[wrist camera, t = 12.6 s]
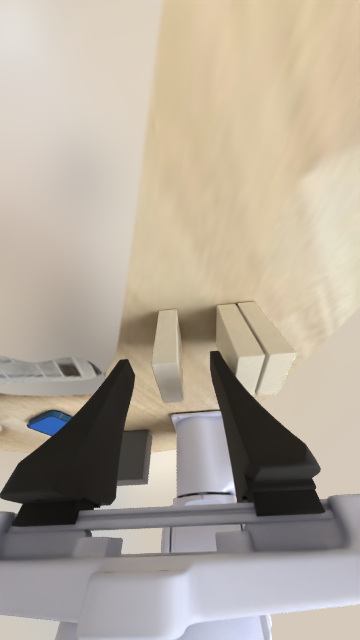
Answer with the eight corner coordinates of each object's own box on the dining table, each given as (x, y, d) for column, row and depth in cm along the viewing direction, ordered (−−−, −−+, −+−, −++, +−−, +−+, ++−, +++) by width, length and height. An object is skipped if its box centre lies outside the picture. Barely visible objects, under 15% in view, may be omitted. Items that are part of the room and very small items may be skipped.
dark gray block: (148, 429, 29) (142, 479, 24) (152, 437, 32) (147, 484, 26) (121, 431, 30) (109, 481, 24) (127, 438, 32) (117, 485, 27)
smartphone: (51, 413, 23) (124, 445, 31) (54, 407, 24) (125, 439, 32) (23, 426, 26) (98, 453, 33) (27, 420, 26) (99, 447, 34)
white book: (176, 308, 14) (177, 362, 10) (181, 344, 17) (184, 401, 12) (159, 310, 14) (150, 365, 10) (166, 346, 17) (163, 403, 12)
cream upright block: (255, 300, 14) (298, 352, 9) (248, 338, 17) (278, 394, 12) (216, 304, 14) (237, 358, 9) (215, 341, 17) (231, 398, 12)
